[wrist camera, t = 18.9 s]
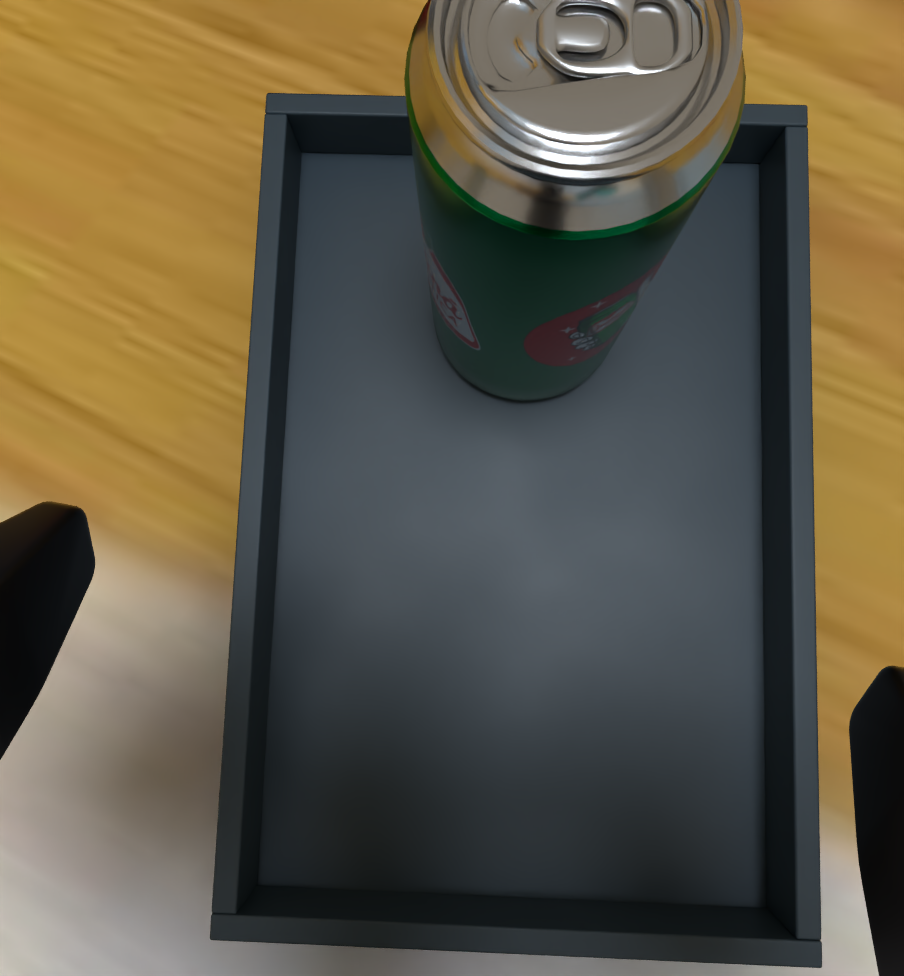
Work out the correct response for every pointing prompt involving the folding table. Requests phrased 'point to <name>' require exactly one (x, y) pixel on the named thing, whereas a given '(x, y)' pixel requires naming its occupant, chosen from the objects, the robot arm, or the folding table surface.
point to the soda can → (560, 169)
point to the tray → (522, 588)
